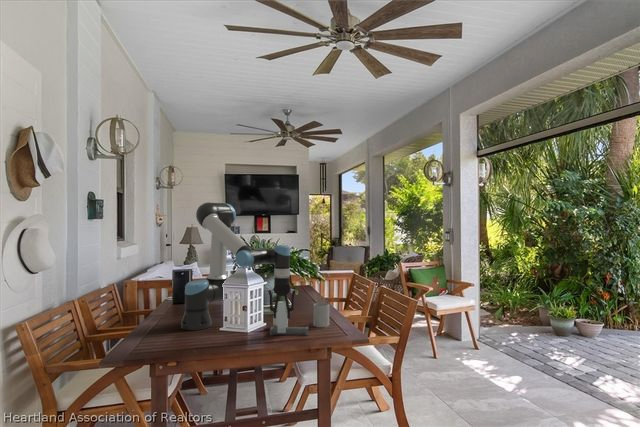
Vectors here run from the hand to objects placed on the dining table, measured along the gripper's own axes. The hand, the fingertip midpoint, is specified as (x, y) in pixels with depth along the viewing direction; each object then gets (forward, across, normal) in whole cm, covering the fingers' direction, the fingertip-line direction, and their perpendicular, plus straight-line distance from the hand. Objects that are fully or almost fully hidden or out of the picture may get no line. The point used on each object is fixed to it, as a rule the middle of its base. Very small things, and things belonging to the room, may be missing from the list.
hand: (281, 324), depth 186 cm
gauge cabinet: (+4, -1, +10) cm, 11 cm away
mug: (+5, +20, +17) cm, 26 cm away
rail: (+4, +4, 0) cm, 6 cm away
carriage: (+3, 0, 0) cm, 3 cm away
